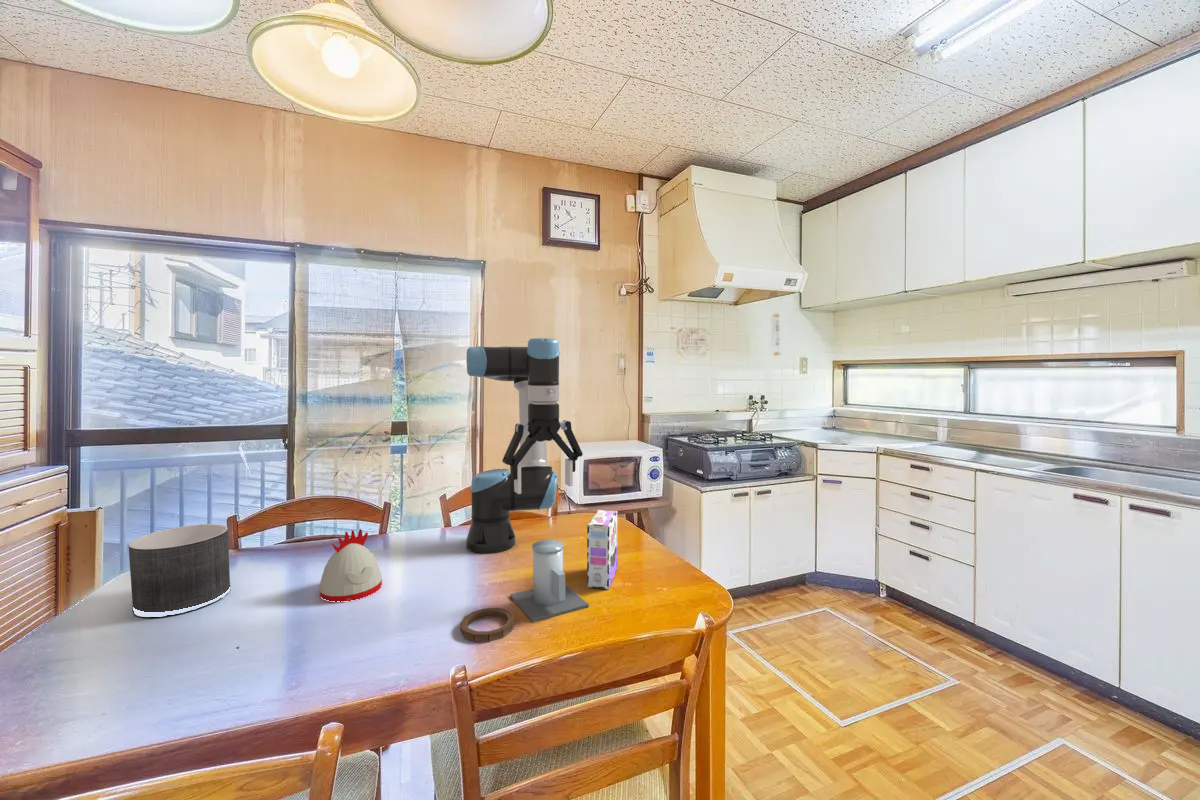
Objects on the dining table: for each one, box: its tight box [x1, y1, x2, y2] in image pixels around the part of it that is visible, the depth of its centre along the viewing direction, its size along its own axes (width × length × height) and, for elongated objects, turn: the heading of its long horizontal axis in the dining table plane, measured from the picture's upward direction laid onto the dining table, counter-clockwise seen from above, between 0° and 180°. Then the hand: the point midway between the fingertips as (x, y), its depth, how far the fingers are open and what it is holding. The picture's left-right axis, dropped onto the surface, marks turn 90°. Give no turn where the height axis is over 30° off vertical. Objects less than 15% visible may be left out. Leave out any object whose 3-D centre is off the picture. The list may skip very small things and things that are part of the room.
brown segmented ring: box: [459, 607, 516, 643], centre depth 103 cm, size 11×11×2 cm
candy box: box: [586, 509, 619, 590], centre depth 127 cm, size 14×6×16 cm, turn 168°
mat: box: [509, 583, 590, 623], centre depth 115 cm, size 14×14×1 cm
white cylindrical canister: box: [531, 539, 566, 606], centre depth 113 cm, size 11×7×13 cm, turn 31°
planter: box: [128, 523, 231, 612], centre depth 115 cm, size 18×18×16 cm
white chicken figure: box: [319, 528, 383, 603], centre depth 121 cm, size 14×14×15 cm
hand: (544, 488), depth 119 cm, fingers open, 13 cm apart
